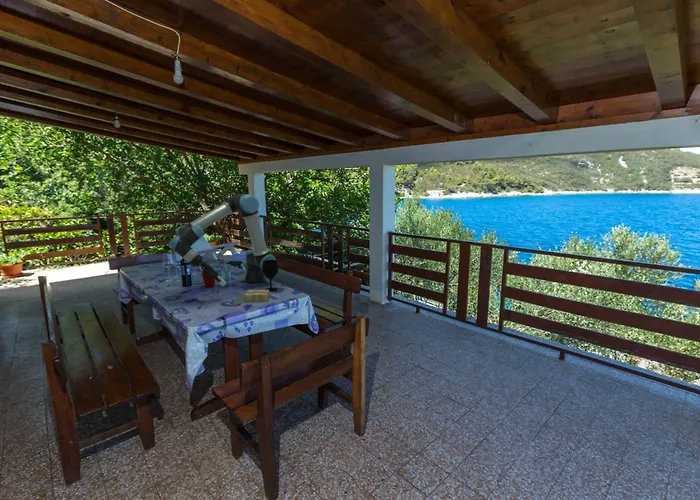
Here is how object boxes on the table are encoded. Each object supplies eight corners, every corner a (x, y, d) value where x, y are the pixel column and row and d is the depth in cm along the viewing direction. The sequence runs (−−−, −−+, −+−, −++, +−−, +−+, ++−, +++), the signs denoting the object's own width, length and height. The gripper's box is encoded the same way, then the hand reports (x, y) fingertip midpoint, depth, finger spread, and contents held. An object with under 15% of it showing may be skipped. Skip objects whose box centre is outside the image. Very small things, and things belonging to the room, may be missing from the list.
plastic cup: (199, 286, 239) (197, 269, 237) (215, 283, 245) (214, 267, 243) (203, 290, 231) (202, 272, 228) (219, 287, 237) (218, 270, 235)
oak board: (247, 290, 215) (268, 289, 217) (247, 296, 216) (269, 295, 218) (244, 295, 206) (267, 294, 207) (245, 301, 206) (267, 300, 208)
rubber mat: (238, 296, 218) (238, 295, 218) (271, 295, 221) (271, 294, 221) (233, 304, 203) (233, 303, 203) (268, 303, 205) (268, 302, 205)
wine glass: (262, 293, 224) (261, 263, 221) (263, 288, 234) (262, 259, 231) (279, 292, 226) (278, 262, 223) (279, 287, 236) (278, 259, 233)
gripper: (192, 260, 209) (222, 286, 214) (185, 265, 197) (217, 292, 202) (201, 251, 209) (231, 277, 214) (194, 255, 196) (226, 283, 201)
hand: (224, 284), depth 208 cm, fingers closed
